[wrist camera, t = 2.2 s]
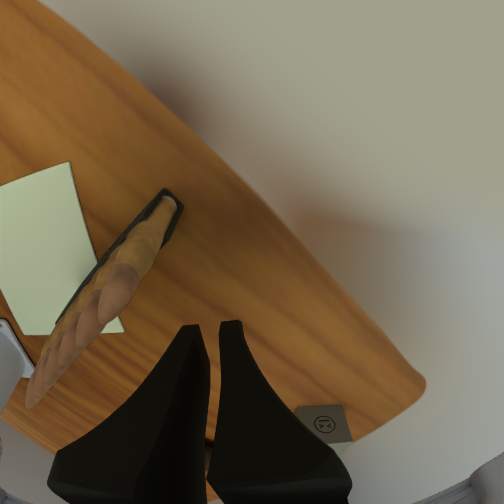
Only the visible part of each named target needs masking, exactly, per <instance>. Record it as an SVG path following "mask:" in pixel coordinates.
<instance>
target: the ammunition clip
mask: <svg viewBox="0 0 504 504" xmlns="http://www.w3.org/2000/svg"><path fill="white" fill-rule="evenodd" d="M183 208H184V206H183V205H182V204H181V203H180V202H179V201H178V200H177V199H176V198H175V197H174V196H173V195H172V194H171V193H170V192H169V191H168V190H167V189H166V188H164V189H162V190H161V191H160V192H159V193H158V194H157V195H156V196H155V198H154V199H153V200H152V201H151V202H150V203H149V204H148V205H147V206H146V207H145V208H144V209H143V211H142V212H141V213H140V214H139V215H138V216H137V217H136V218H135V219H134V221H133V222H132V223H131V224H130V225H129V226H128V227H127V229H126V230H125V231H124V232H123V233H122V234H121V235H120V237H119V238H118V239H117V240H116V241H115V242H114V244H113V245H112V246H111V247H110V248H109V250H108V251H107V252H106V253H105V254H104V256H103V257H102V258H101V259H100V261H99V262H98V263H97V264H96V266H95V267H94V268H93V269H92V271H91V272H90V273H89V274H88V276H87V277H86V278H85V279H84V281H83V282H82V283H81V285H80V286H79V287H78V289H77V290H76V292H75V293H74V295H73V296H72V298H71V299H70V301H69V302H68V304H67V305H66V307H65V308H64V310H63V311H62V313H61V314H60V316H59V317H58V319H57V320H56V322H55V325H56V326H55V327H54V329H53V331H52V332H51V334H50V336H49V337H48V339H47V341H46V342H45V344H44V346H43V349H42V353H41V356H40V358H39V360H38V362H37V364H36V367H35V369H34V371H33V373H32V375H31V378H30V381H29V383H28V387H27V391H26V397H25V407H26V409H28V410H29V409H31V408H32V407H34V406H35V405H36V404H37V403H38V402H39V401H40V399H41V398H42V397H43V395H44V394H46V392H47V391H48V390H49V389H50V388H51V387H52V385H53V384H54V383H55V382H56V381H57V380H58V379H59V378H60V377H61V376H62V375H63V373H64V372H65V371H66V370H67V368H68V367H69V366H70V365H71V364H72V363H73V362H74V361H75V360H76V359H77V358H78V357H79V356H80V355H81V353H82V352H83V351H84V349H85V348H86V347H87V346H88V345H90V344H91V343H92V342H93V341H94V340H95V339H96V338H97V337H98V336H99V334H100V333H101V332H102V331H103V329H104V328H105V326H106V325H107V323H109V322H111V321H112V320H114V319H115V318H116V317H117V316H118V315H119V314H120V313H121V312H122V311H123V309H124V308H125V307H126V306H127V304H128V303H129V301H130V300H131V298H132V297H133V295H134V293H135V291H136V288H137V287H138V286H139V284H140V282H141V280H142V278H143V277H144V276H145V275H146V273H147V272H148V271H149V270H150V269H151V267H152V265H153V262H154V260H155V258H156V256H157V253H158V251H159V250H160V249H161V248H162V247H163V246H164V245H165V244H166V243H167V242H168V241H169V239H170V237H171V235H172V233H173V230H174V228H175V226H176V224H177V221H178V219H179V217H180V215H181V213H182V210H183Z"/></svg>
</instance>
